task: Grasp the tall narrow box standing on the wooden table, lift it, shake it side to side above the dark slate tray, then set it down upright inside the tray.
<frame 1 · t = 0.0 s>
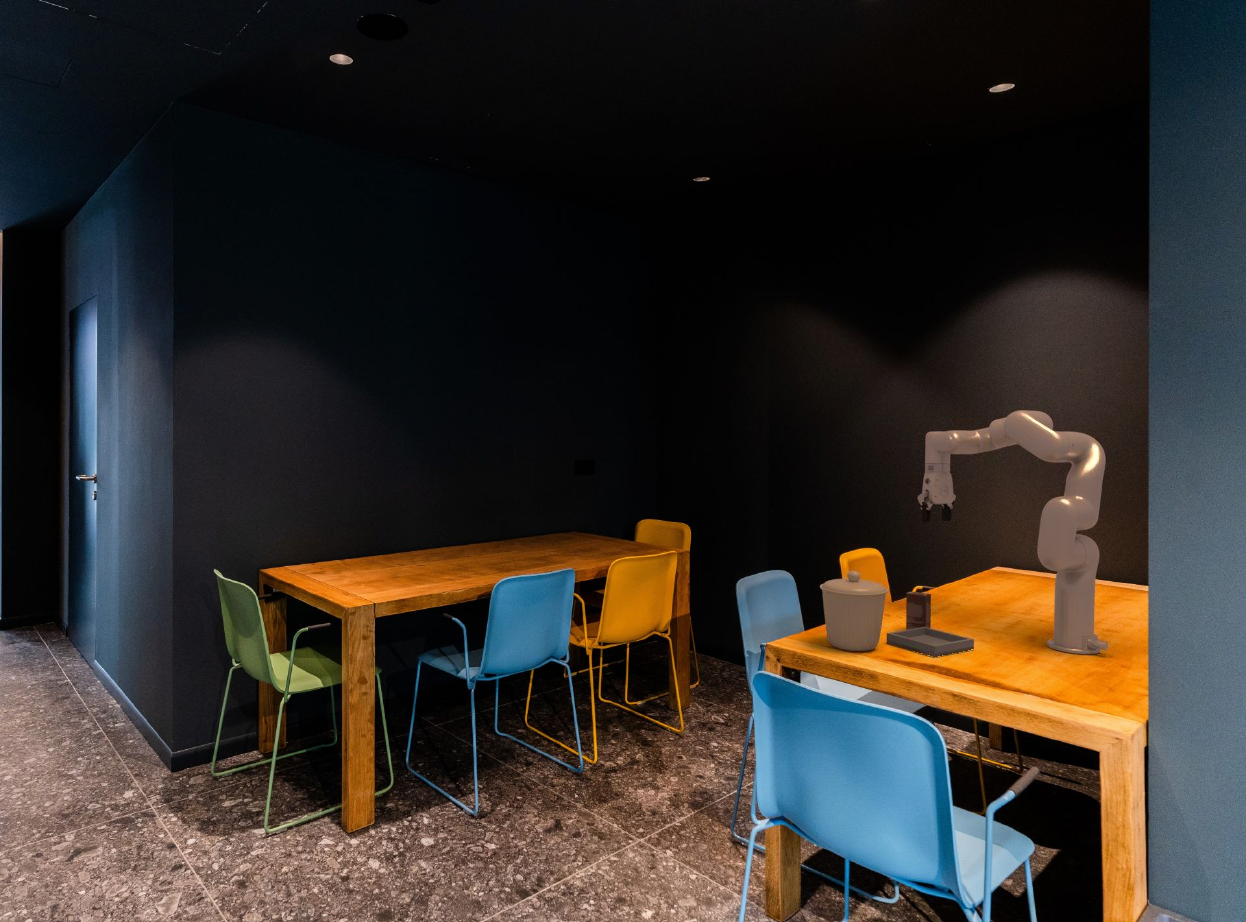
hand: (936, 521, 247), 31 cm above the table, tool pointing down, fingers open, 9 cm apart
canister: (852, 647, 209), on the table
box: (918, 633, 225), on the table
tray: (929, 646, 209), on the table
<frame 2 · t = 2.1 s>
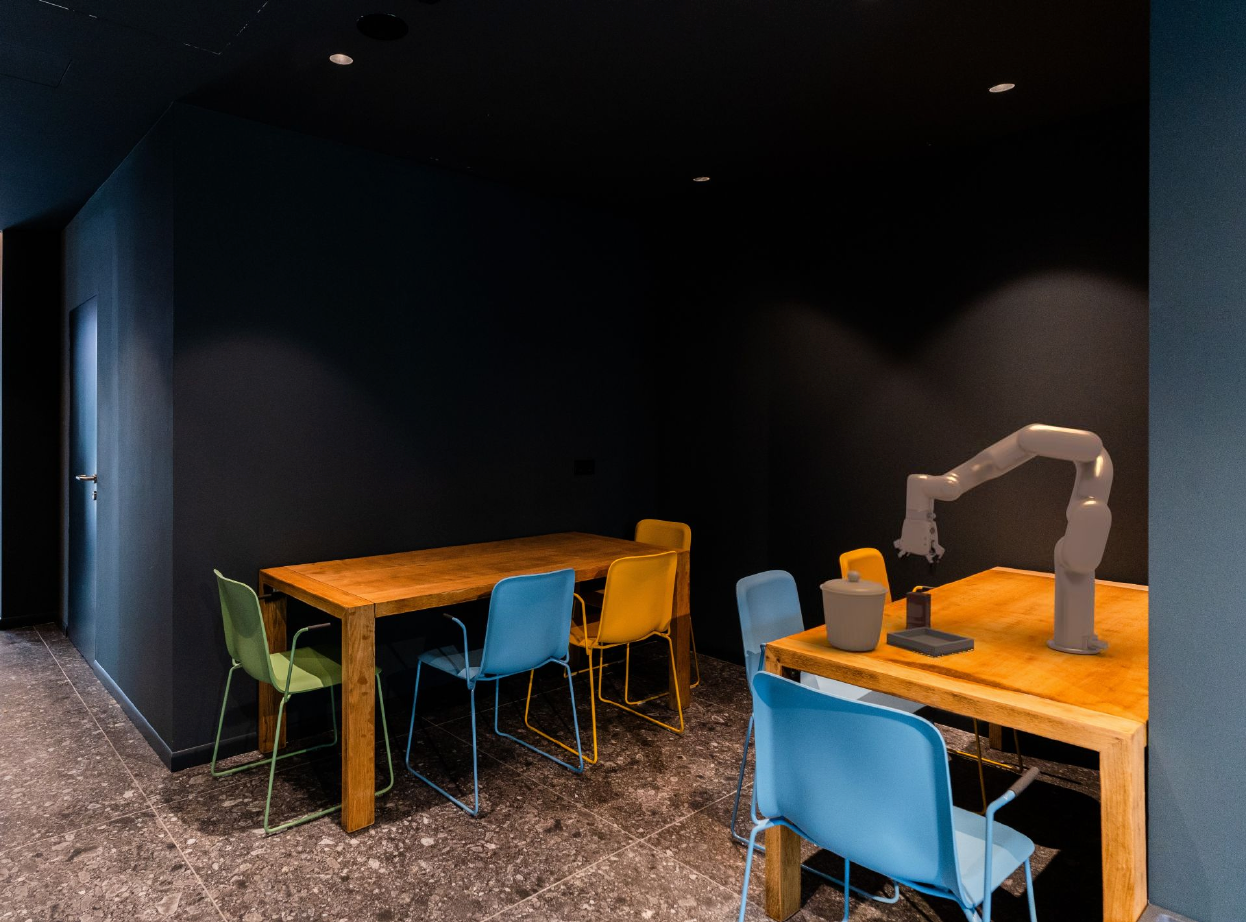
hand: (917, 573, 224), 18 cm above the table, tool pointing down, fingers open, 9 cm apart
nothing on the table moved.
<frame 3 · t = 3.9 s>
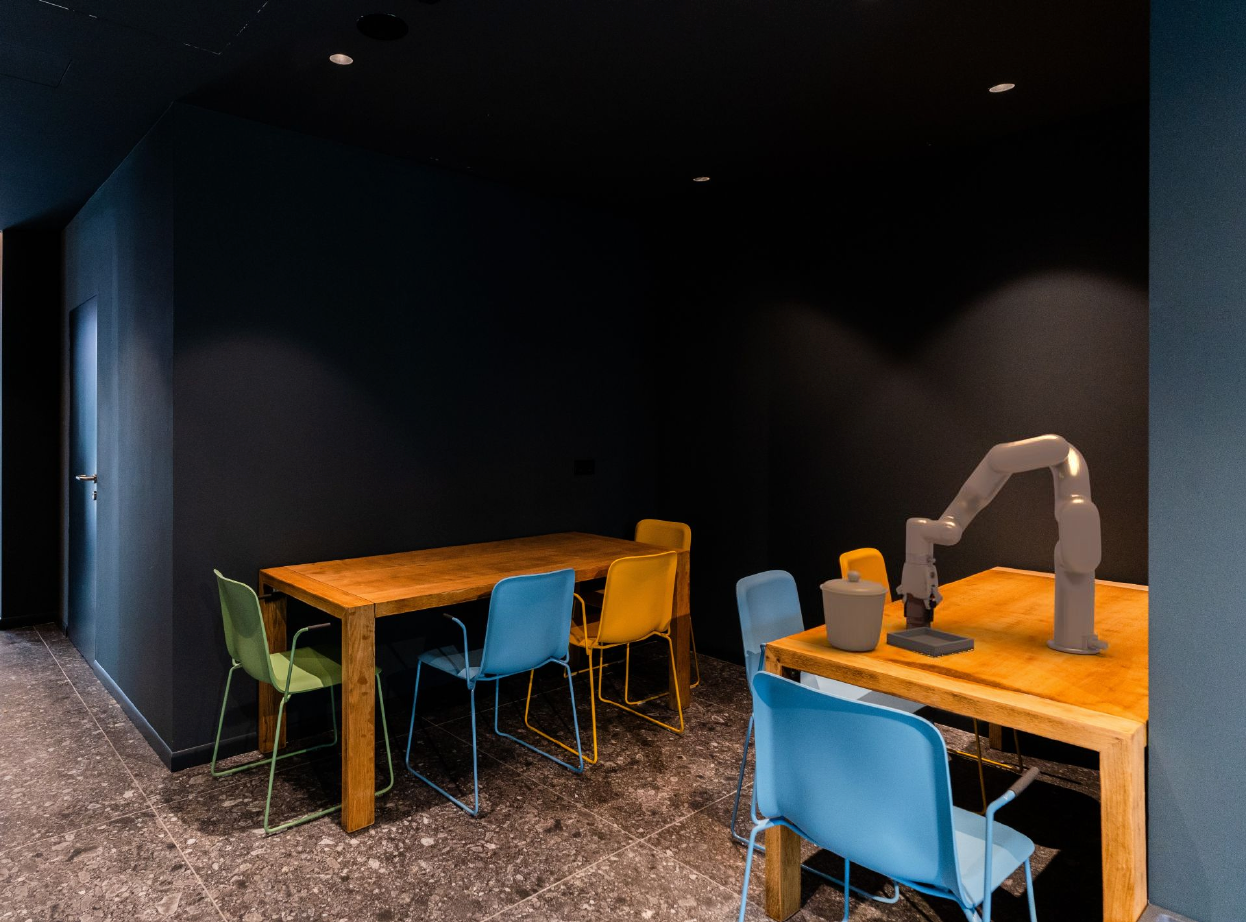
hand: (918, 618, 225), 4 cm above the table, tool pointing down, fingers closed on box, 6 cm apart
box: (918, 633, 225), on the table, touching gripper
everything else where it was.
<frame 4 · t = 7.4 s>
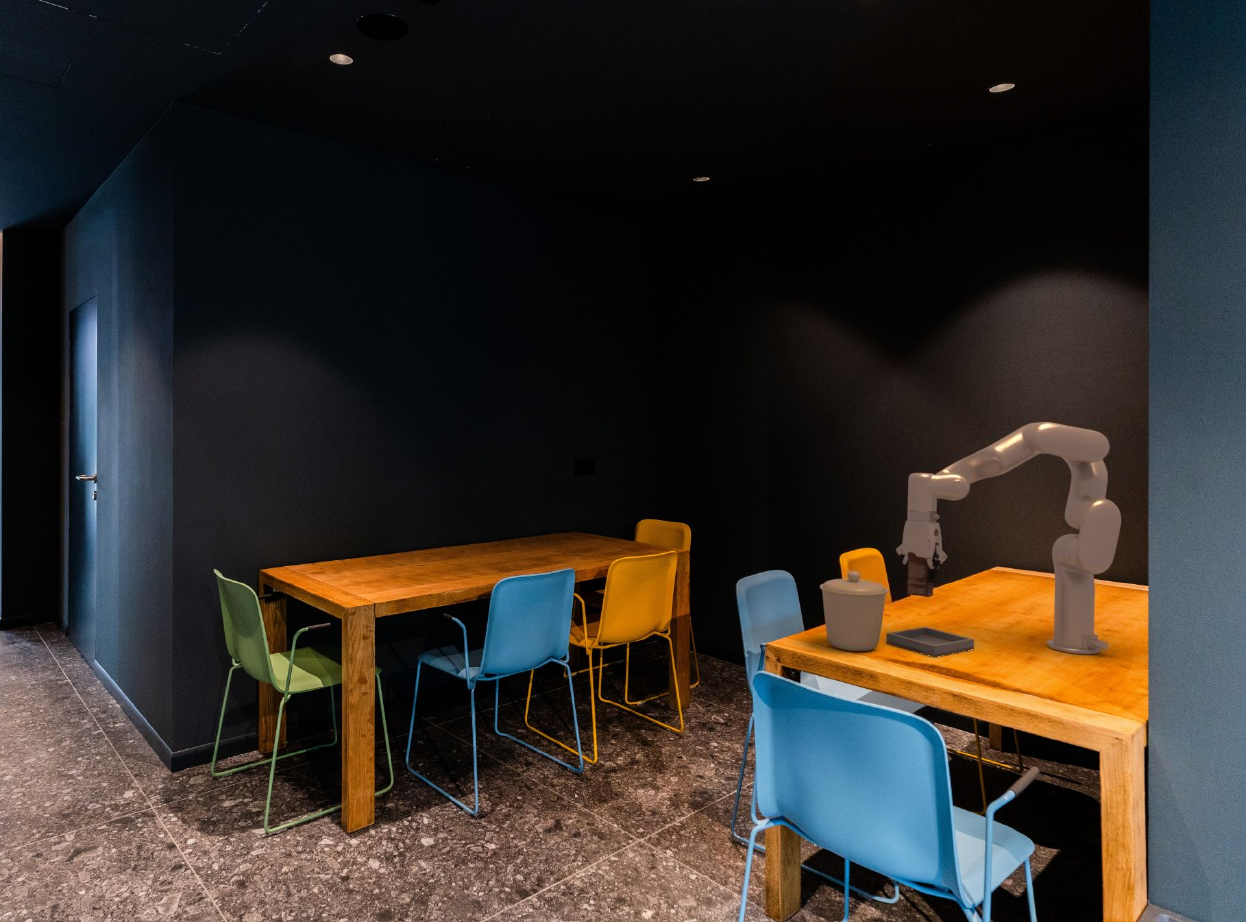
hand: (920, 580, 212), 18 cm above the table, tool pointing down, fingers closed on box, 6 cm apart
box: (919, 595, 212), point 14 cm above the table, touching gripper
everything else where it was.
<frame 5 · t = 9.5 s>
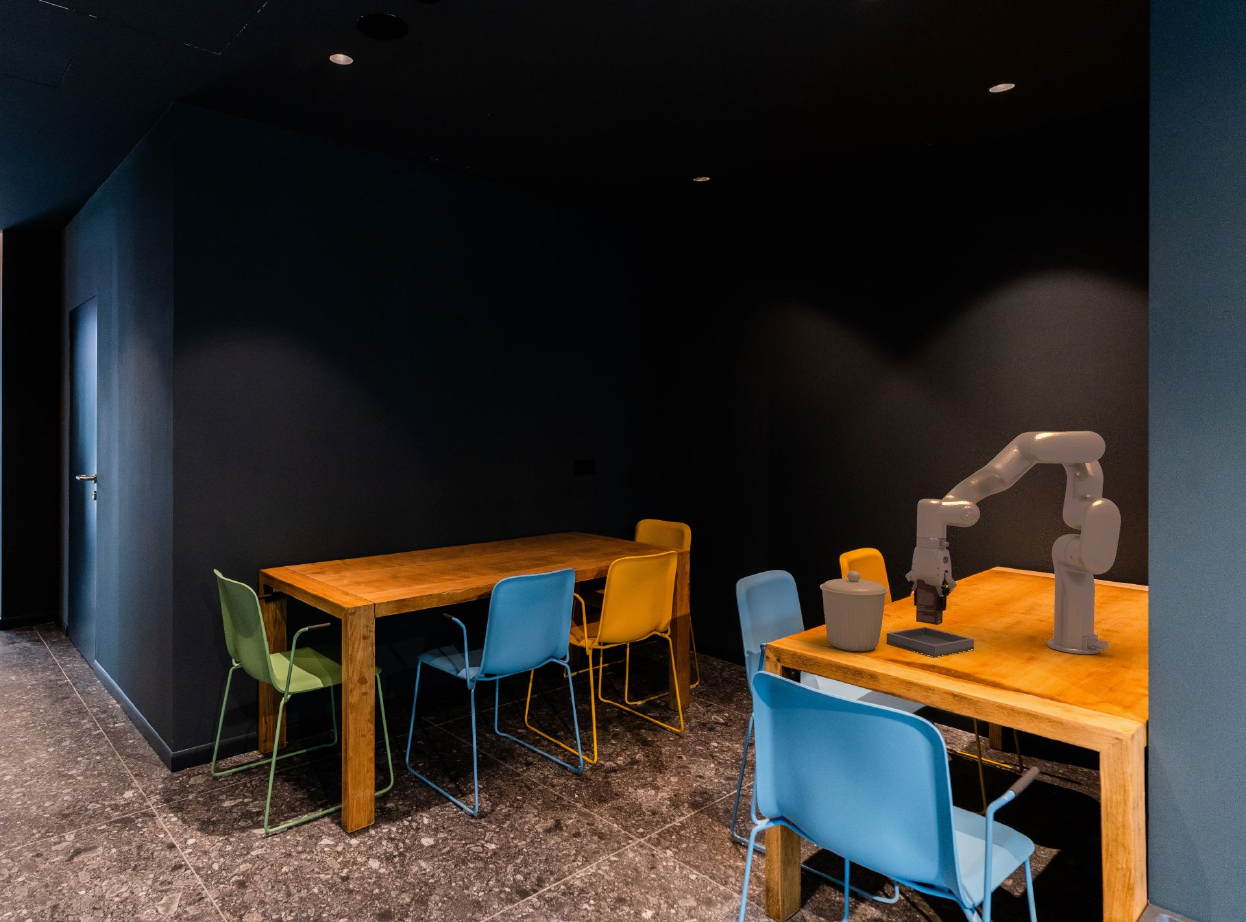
hand: (929, 607, 209), 11 cm above the table, tool pointing down, fingers closed on box, 6 cm apart
box: (929, 623, 209), point 7 cm above the table, touching gripper
everything else where it was.
when the fingers open (7 cm above the table, at t = 11.2 s): box drops 1 cm, resting on tray.
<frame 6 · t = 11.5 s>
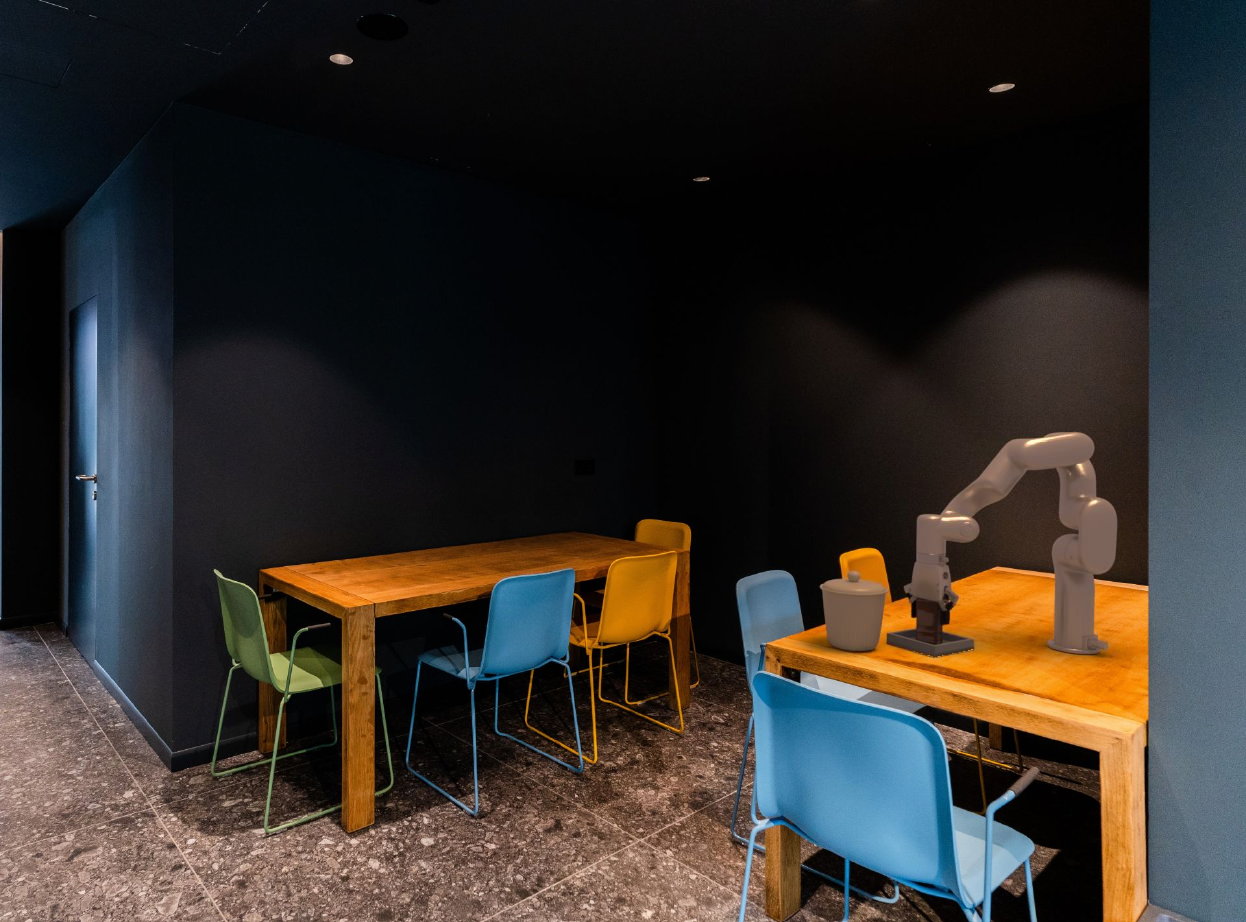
hand: (929, 620, 209), 7 cm above the table, tool pointing down, fingers open, 9 cm apart
box: (929, 643, 210), point 1 cm above the table, touching tray
everything else where it was.
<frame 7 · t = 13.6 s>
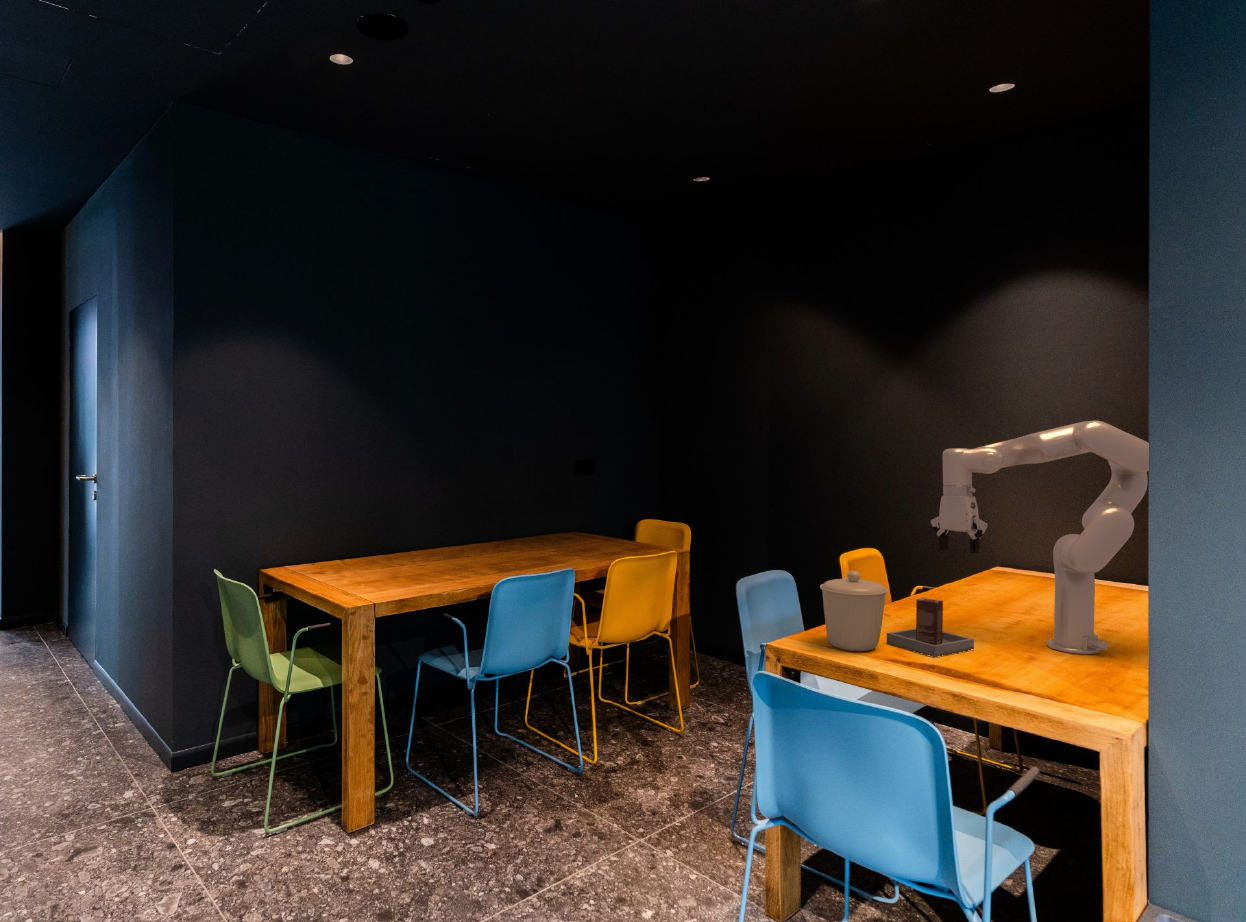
hand: (958, 551, 216), 26 cm above the table, tool pointing down, fingers open, 9 cm apart
nothing on the table moved.
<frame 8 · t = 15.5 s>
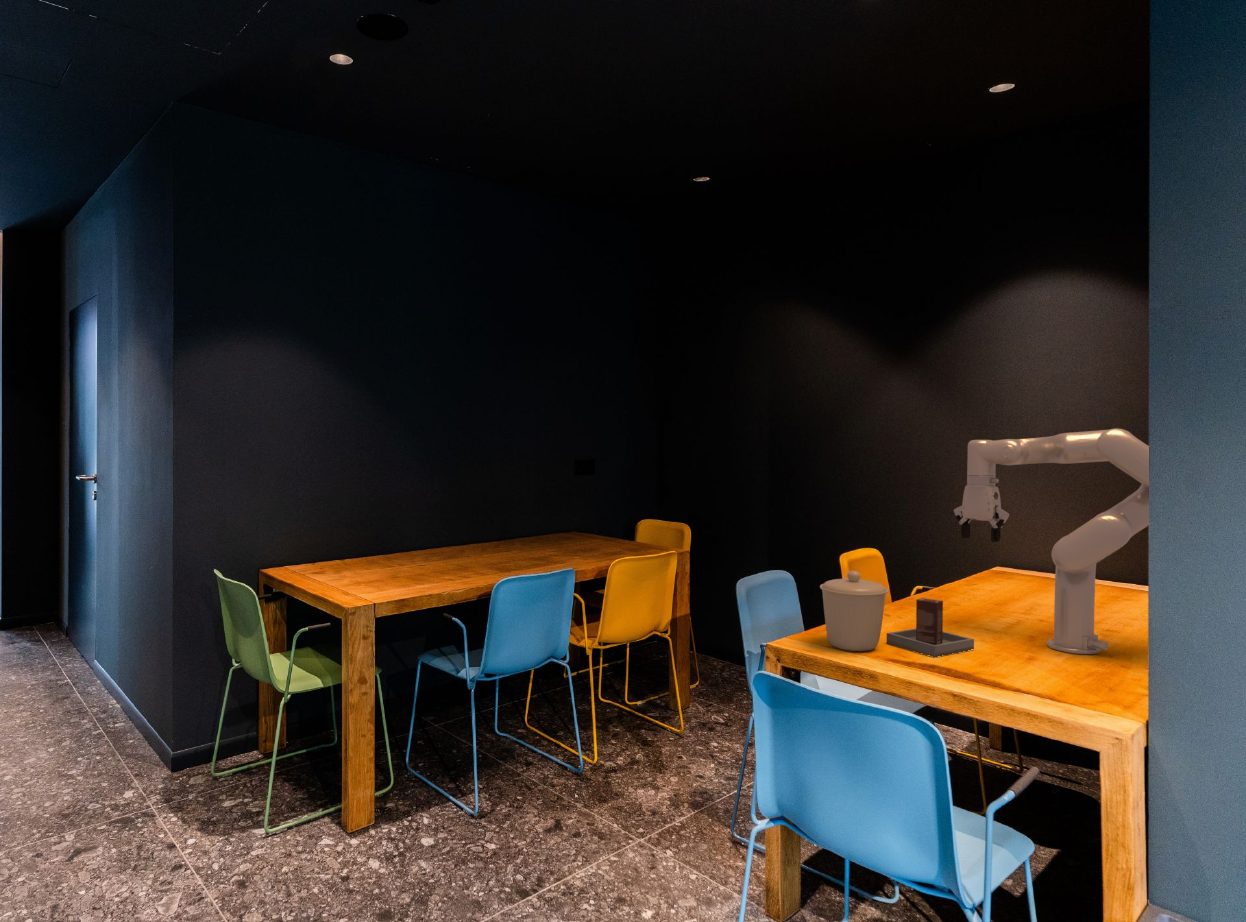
hand: (980, 539, 222), 28 cm above the table, tool pointing down, fingers open, 9 cm apart
nothing on the table moved.
at the end: box inside the target area on the tray (0.3 cm from its centre), point 0.8 cm above the tray's base; box tilted 0°; the gripper is holding nothing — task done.
